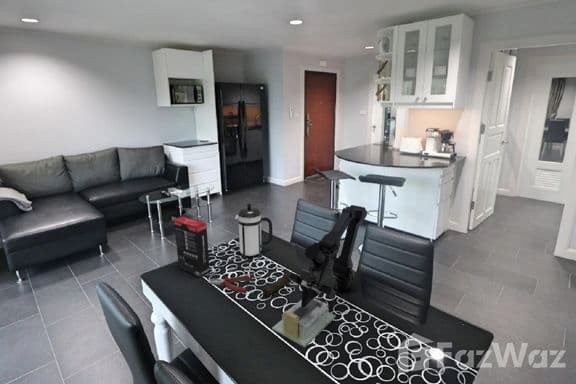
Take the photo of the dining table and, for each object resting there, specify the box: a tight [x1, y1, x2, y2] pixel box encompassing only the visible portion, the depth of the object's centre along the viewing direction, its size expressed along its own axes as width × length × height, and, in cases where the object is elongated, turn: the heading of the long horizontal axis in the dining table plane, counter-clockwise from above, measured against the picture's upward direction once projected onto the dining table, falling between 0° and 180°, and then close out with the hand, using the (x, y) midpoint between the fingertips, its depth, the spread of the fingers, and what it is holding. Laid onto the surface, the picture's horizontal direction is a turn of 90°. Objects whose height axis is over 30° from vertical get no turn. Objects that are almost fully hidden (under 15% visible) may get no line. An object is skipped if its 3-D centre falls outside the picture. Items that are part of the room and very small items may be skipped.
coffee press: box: [234, 202, 273, 260], centre depth 175 cm, size 17×16×30 cm
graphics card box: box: [173, 216, 211, 278], centre depth 157 cm, size 17×7×27 cm, turn 58°
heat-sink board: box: [271, 297, 336, 349], centre depth 120 cm, size 21×15×9 cm
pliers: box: [207, 275, 253, 294], centre depth 148 cm, size 12×20×3 cm, turn 79°
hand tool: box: [262, 271, 293, 298], centre depth 145 cm, size 19×4×5 cm, turn 139°
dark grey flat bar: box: [293, 299, 319, 321], centre depth 120 cm, size 14×4×1 cm, turn 142°
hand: (302, 306), depth 118 cm, fingers closed
